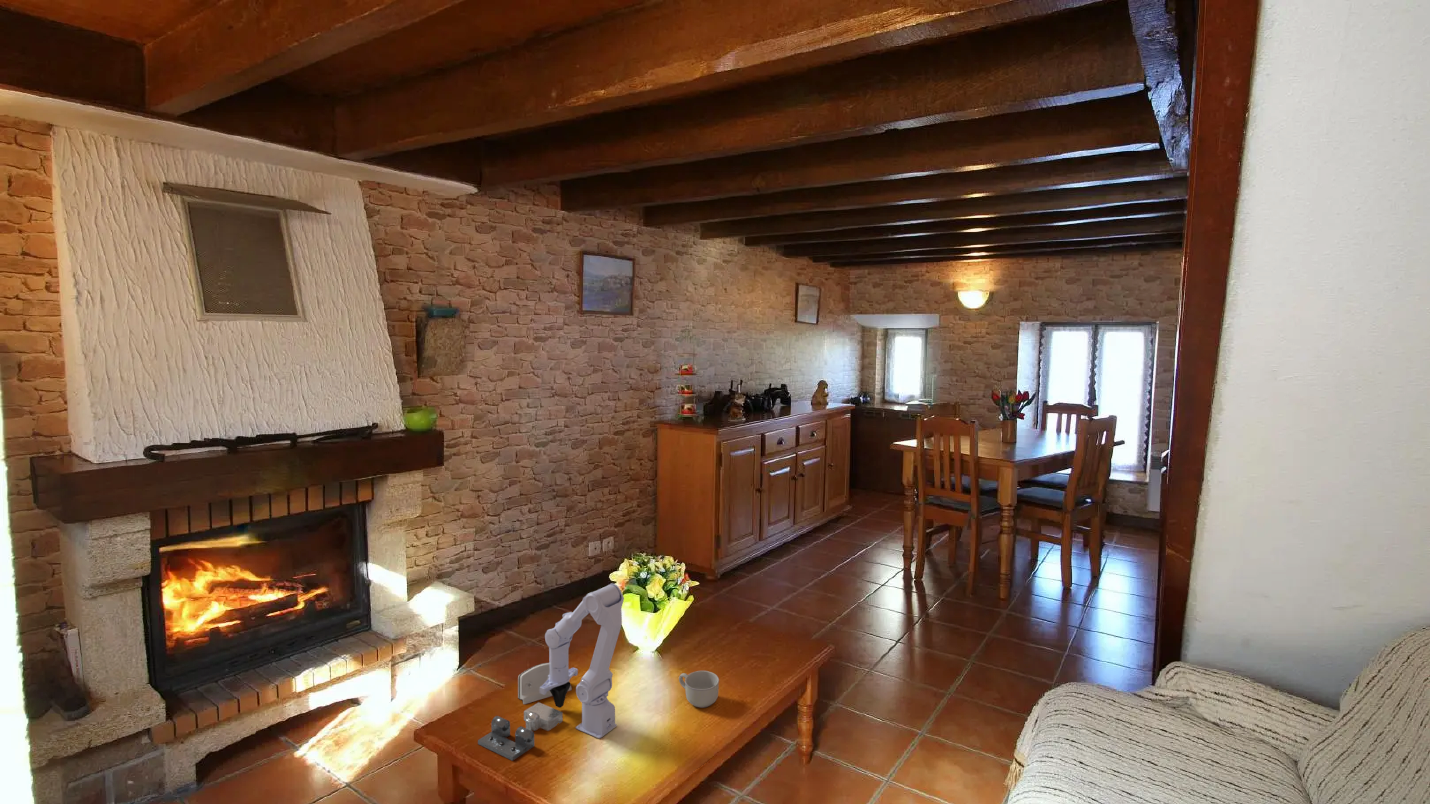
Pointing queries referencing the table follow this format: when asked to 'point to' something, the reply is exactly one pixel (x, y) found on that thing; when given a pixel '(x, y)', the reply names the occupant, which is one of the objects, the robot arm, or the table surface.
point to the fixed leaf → (504, 746)
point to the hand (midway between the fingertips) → (559, 705)
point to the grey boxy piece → (542, 717)
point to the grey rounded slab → (533, 683)
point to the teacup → (700, 687)
